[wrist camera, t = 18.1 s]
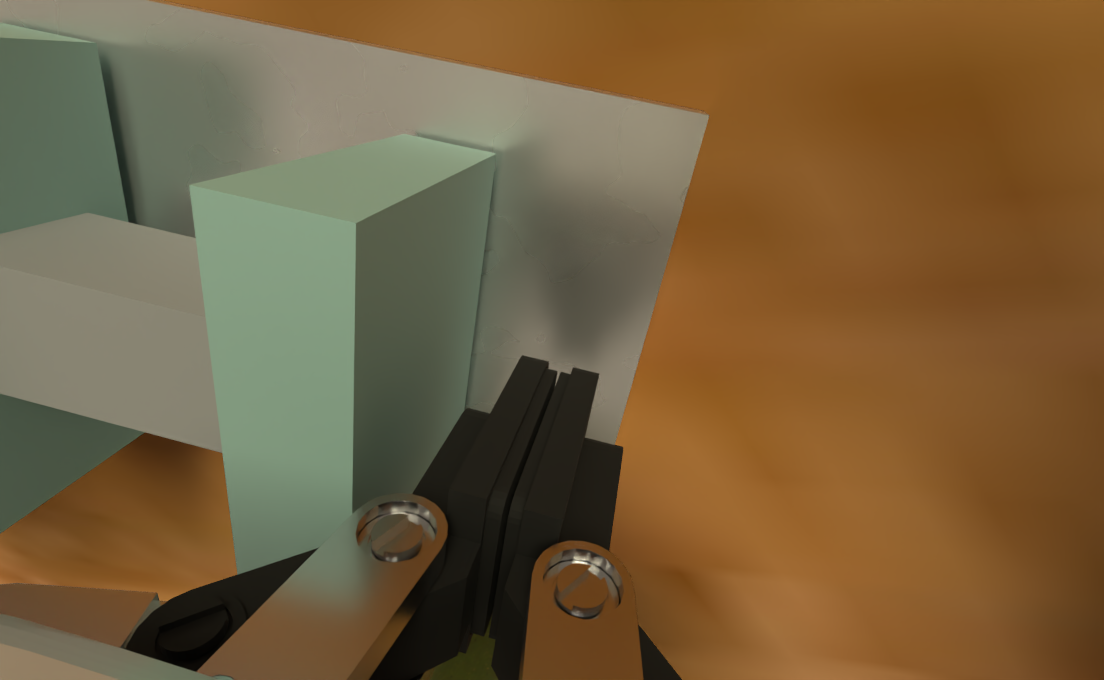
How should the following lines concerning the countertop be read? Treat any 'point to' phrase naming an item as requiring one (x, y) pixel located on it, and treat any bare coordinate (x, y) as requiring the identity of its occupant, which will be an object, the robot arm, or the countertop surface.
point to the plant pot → (470, 661)
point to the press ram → (229, 310)
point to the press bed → (428, 112)
